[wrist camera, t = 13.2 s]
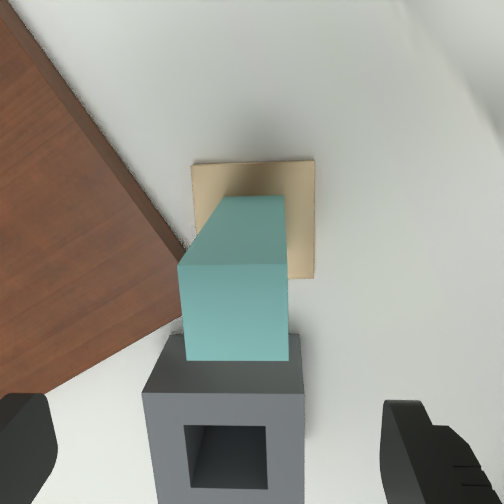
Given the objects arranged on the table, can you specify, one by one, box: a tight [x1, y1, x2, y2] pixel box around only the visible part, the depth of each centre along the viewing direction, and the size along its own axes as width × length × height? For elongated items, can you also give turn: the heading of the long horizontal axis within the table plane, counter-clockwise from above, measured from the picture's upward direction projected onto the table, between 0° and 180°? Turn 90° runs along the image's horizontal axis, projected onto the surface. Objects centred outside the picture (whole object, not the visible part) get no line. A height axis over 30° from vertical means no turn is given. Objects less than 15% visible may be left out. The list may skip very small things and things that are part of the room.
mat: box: [191, 160, 315, 279], centre depth 28 cm, size 8×8×1 cm
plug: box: [177, 195, 289, 361], centre depth 22 cm, size 4×4×13 cm
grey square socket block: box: [142, 335, 304, 504], centre depth 30 cm, size 10×10×7 cm
